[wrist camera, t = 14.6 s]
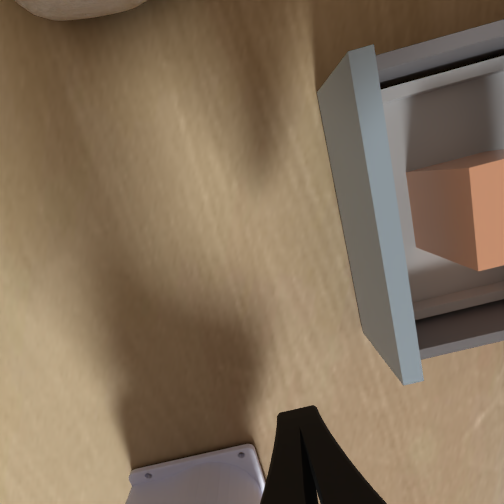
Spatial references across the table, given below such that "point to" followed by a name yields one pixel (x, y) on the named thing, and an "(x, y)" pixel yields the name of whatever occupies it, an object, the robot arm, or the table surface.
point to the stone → (77, 8)
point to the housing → (420, 64)
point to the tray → (405, 190)
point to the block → (461, 209)
